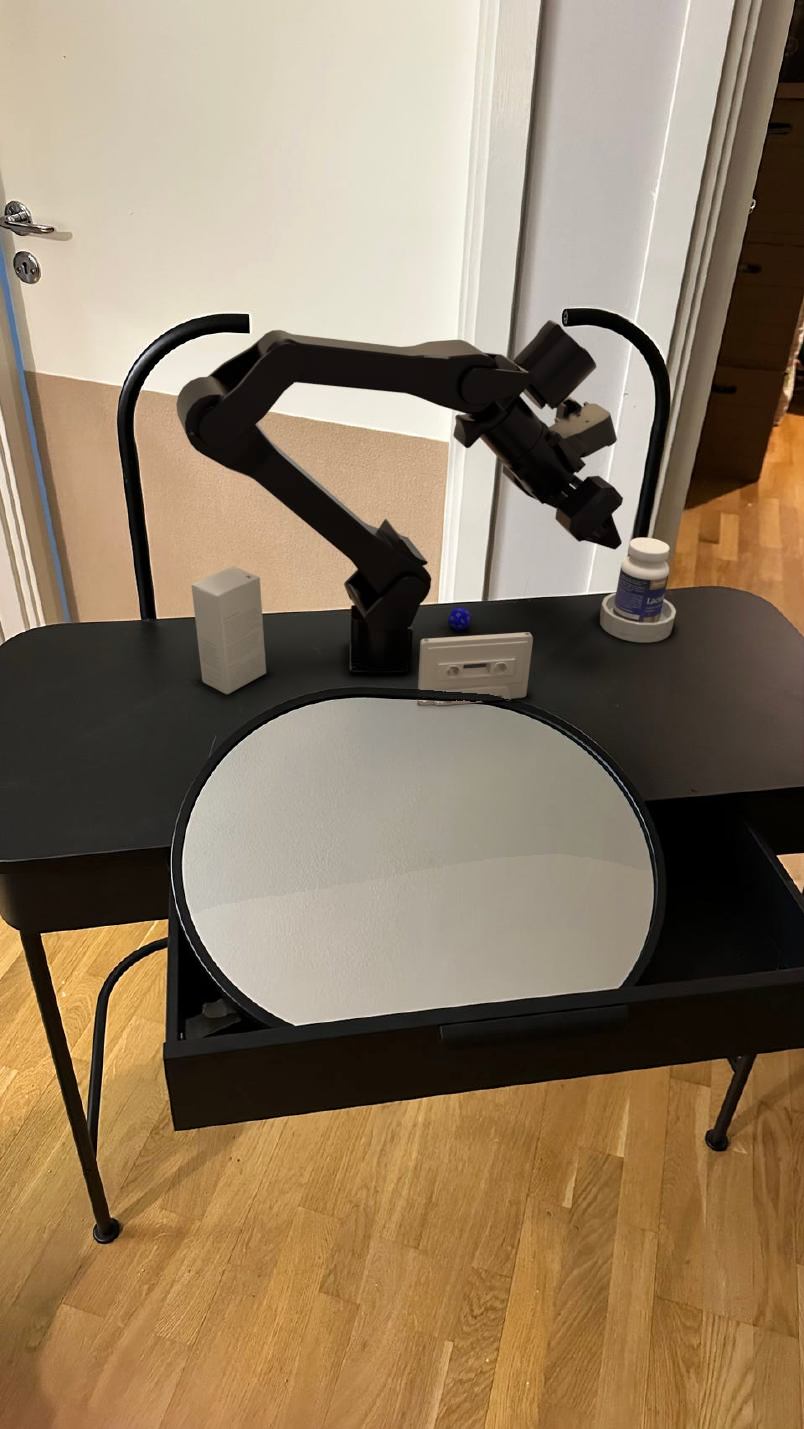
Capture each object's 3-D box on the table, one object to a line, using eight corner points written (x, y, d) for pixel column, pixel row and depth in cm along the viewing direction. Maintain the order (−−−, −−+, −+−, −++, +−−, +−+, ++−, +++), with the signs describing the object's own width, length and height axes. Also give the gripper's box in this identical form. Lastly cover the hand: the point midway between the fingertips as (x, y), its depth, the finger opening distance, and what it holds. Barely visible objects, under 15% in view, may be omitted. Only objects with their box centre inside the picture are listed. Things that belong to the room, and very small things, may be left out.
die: (466, 636, 118) (452, 619, 116) (453, 634, 120) (439, 617, 119) (479, 619, 119) (466, 602, 117) (466, 618, 121) (452, 601, 119)
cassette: (523, 690, 108) (530, 629, 104) (527, 700, 106) (535, 638, 102) (416, 698, 106) (418, 636, 102) (419, 708, 104) (422, 645, 100)
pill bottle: (650, 635, 118) (665, 559, 112) (605, 622, 120) (617, 547, 114) (665, 616, 122) (680, 542, 116) (621, 604, 124) (634, 531, 118)
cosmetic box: (240, 661, 111) (233, 564, 104) (267, 674, 109) (261, 576, 102) (199, 682, 107) (189, 583, 101) (226, 696, 105) (217, 596, 98)
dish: (607, 642, 117) (611, 624, 116) (593, 608, 125) (595, 590, 123) (680, 643, 118) (684, 624, 116) (661, 608, 125) (664, 591, 124)
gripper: (620, 409, 94) (696, 509, 103) (539, 359, 108) (612, 450, 118) (536, 494, 96) (618, 584, 105) (467, 434, 111) (544, 518, 120)
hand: (598, 529), depth 112 cm, fingers open, 9 cm apart
